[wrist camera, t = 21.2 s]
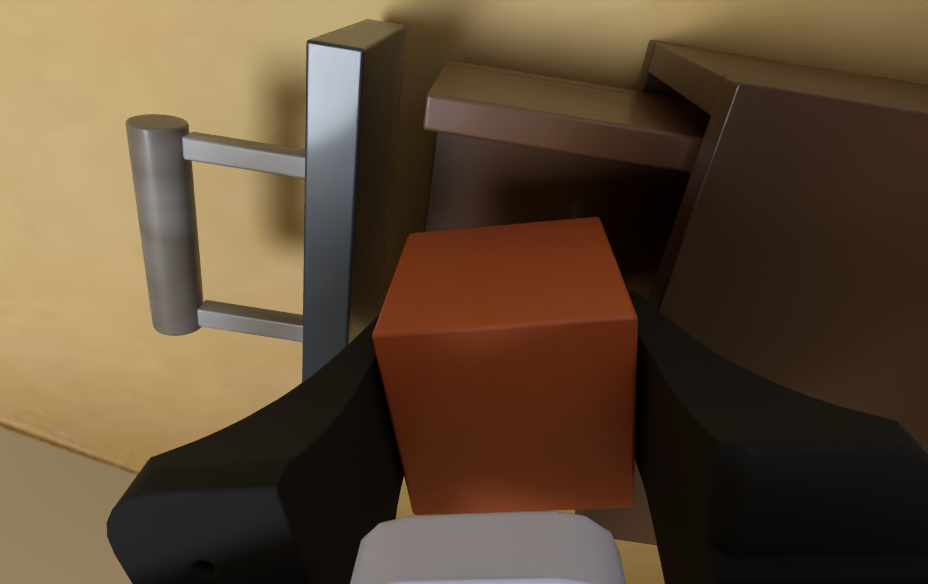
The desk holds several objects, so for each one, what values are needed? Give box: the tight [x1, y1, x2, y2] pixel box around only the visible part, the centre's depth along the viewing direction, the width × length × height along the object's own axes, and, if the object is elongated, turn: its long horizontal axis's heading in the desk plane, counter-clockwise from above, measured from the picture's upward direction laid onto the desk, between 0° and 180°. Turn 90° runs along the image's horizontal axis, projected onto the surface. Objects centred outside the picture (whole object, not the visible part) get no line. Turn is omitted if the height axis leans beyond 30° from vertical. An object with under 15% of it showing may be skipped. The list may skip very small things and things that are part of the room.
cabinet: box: [575, 40, 928, 545], centre depth 17 cm, size 15×13×8 cm
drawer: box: [126, 19, 711, 383], centre depth 17 cm, size 18×11×6 cm, turn 82°
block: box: [372, 217, 638, 515], centre depth 13 cm, size 5×5×5 cm
